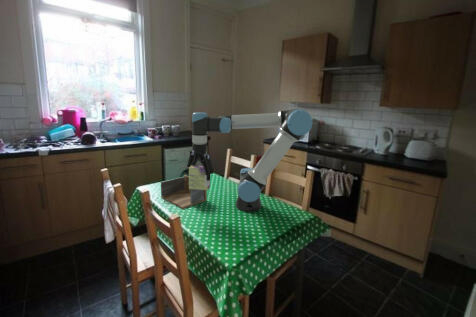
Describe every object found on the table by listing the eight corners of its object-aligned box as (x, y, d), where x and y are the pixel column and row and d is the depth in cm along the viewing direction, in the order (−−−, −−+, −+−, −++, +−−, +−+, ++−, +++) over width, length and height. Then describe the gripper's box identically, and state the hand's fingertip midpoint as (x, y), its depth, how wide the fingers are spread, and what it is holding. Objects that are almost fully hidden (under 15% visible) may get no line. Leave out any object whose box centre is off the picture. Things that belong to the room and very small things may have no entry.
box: (210, 186, 139) (210, 166, 136) (208, 190, 133) (208, 168, 130) (191, 185, 140) (191, 164, 137) (188, 189, 134) (188, 167, 131)
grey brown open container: (206, 200, 157) (206, 181, 154) (182, 208, 143) (182, 188, 141) (185, 190, 171) (184, 173, 168) (161, 197, 158) (160, 178, 155)
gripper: (221, 145, 126) (220, 187, 131) (191, 139, 141) (191, 176, 146) (209, 147, 120) (209, 190, 125) (180, 140, 136) (180, 179, 141)
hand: (199, 183), depth 136 cm, fingers closed on box, 11 cm apart
